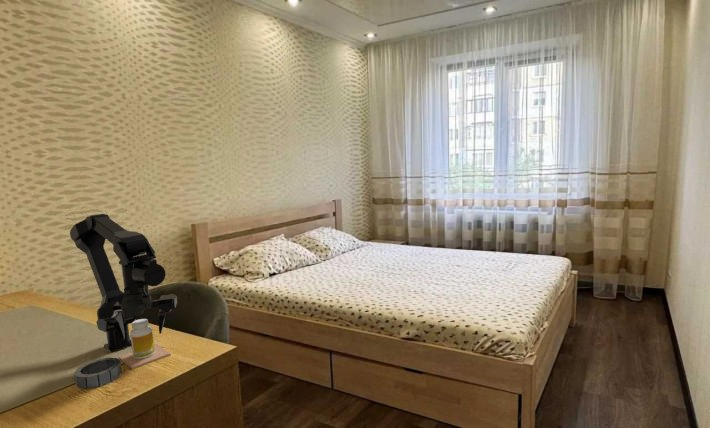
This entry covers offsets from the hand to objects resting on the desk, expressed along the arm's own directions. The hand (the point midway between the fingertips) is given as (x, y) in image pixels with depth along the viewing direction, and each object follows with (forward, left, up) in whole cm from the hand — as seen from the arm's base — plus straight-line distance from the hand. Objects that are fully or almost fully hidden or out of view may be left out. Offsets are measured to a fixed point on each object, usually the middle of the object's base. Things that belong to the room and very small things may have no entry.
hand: (142, 336), depth 113 cm
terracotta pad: (0, 0, -6) cm, 6 cm away
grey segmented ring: (+3, -12, -6) cm, 14 cm away
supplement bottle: (0, 0, -6) cm, 6 cm away
